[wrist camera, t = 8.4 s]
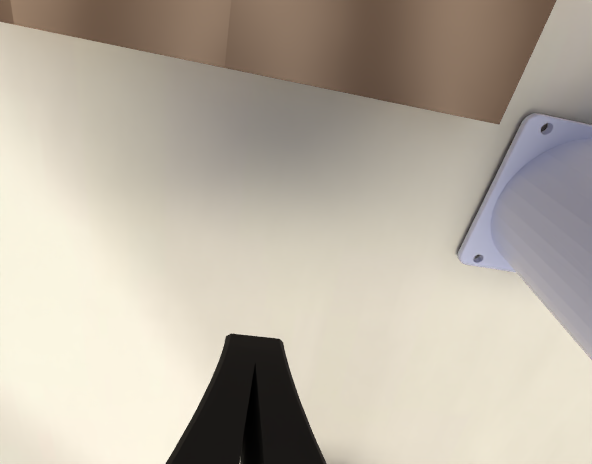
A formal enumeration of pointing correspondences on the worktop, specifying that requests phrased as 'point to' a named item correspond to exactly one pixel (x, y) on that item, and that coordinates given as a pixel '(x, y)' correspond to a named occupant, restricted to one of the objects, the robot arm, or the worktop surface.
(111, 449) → the worktop surface
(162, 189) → the worktop surface
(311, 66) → the deck
